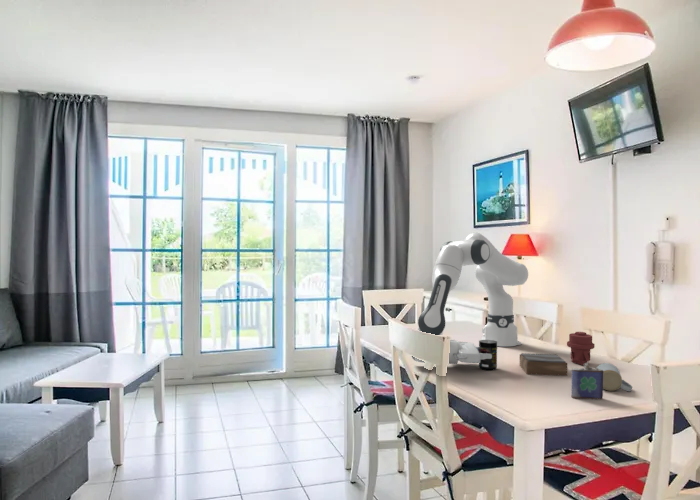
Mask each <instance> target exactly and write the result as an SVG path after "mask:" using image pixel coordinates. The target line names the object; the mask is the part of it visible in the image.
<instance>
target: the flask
mask: <svg viewBox="0 0 700 500" xmlns="http://www.w3.org/2000/svg"><path fill="white" fill-rule="evenodd" d="M570 395H571V398H572V399H576V400H577V399H578V400H580V399H582V400H590V399H591V400H599V401H600V400H603V395H604V389H603V370H601V369H598V368H597V367H595V368H594V367H593V366H592V367H591V366H589V362H588V363H585V364H584V365H583V368H582V367H581V368H577V367H575V368H572V369H571V394H570Z"/></svg>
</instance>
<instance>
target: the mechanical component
mask: <svg viewBox="0 0 700 500" xmlns="http://www.w3.org/2000/svg"><path fill="white" fill-rule="evenodd" d="M568 339H569V340H568V341H566V347H568V348H569V349H570V359H571V363H574V364H577V365H580V366H585V363H589V361H590V360H591V350H593V349H595V347H596V346H595V343H593V335H591V334H587V332H584V331H575V332H573V333H569V338H568Z"/></svg>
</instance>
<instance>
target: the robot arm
mask: <svg viewBox="0 0 700 500" xmlns="http://www.w3.org/2000/svg"><path fill="white" fill-rule="evenodd" d="M474 265H475V266H476V265H477V266H476V268H475V272H474V273H475V278H476V279H477V281H478V282H479V283H480V284H481V285H482V286H483V287H484V290H485V291H486V292H485V293H486V295H487V300H488V313H487V320H486V321H487V323H486V325H484V327H483V328H482V329H481V333H482V336H481V338H480V340H494V341H497V347H515V346H520V345H522V342H521V341H519V340H518V327H517V325H516V324H515V315H514V299H513V296H512V295H511V294H509V293H507V291H505V289H504V287H503V286H507V287H508V286H510V287H513V286H522V285H524V284H525V283H526V282H527V280H528V279H529V271H528V270H529V269H528V268H527V267H526V265H525V264H523V263H520V262H517V261H515V260H512V259H511V258H510V257H508V256H506V255H504V254H503V253H502V252H500V251H499V250H498V249H497V248H496V247H495V245H494V244H493V243H492V242H491V241H490V240H489V239H488V238H487V237H486V236H484V235H483V234H482V233H480V232H471V233H469V234H468V235H467V236H466V237H465V238H464V239H462V240H461V239H460V240H454V241H447V242H444V243H443V244H442V246H441V247H440V250H439V252H438V255H437V257H436V260H435V263H434V266H433V270H432V273H431V274H432V275H431V284H432V290H431V293H430V297H429V300H428V304H427V305H426V308H425V309H424V310H423V311H422V312H421V313H420V315H419V317H418V319H417V321H418V322H417V324H418V328H417V330H419V331H422V332H426V333H431V334H435V335H442V336H443V334H444V330H445V328H446V317H445V308H446V304H447V300H448V298H449V297H448V296H449V294H450V292H451V291H453V290H454V289H455V288H456V287H457V284H458V281H459V280H460V276H461V272H462V268H463V266H474ZM411 357H412V359H413V361H415V362H418V363H422V364H423V363H424V364H426V363H425V362H424V361H422V360H419V359H417V358H415V357H413V356H411ZM491 358H492V354H491V353H479V346H476V345H475V343H473V342H468V341H458V340H455V339H450V353H449V364H451V365H458V362H461V363H466V364H479V363H480V359H481V360H483V359H491ZM449 364H448V365H449Z"/></svg>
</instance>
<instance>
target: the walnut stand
mask: <svg viewBox="0 0 700 500" xmlns="http://www.w3.org/2000/svg"><path fill="white" fill-rule="evenodd" d="M519 367H520V368H521V370H523V371H524V372H525V373H526V375H536V376H537V375H539V376H542V375H543V376H566V377H568V363H567V361H565V359H563V358H562V357H561V356H559V355H558V354H557V353H556V354H555V353H531V352H530V353H527V352H525V353H523V352H521V353H520V354H519Z"/></svg>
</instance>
